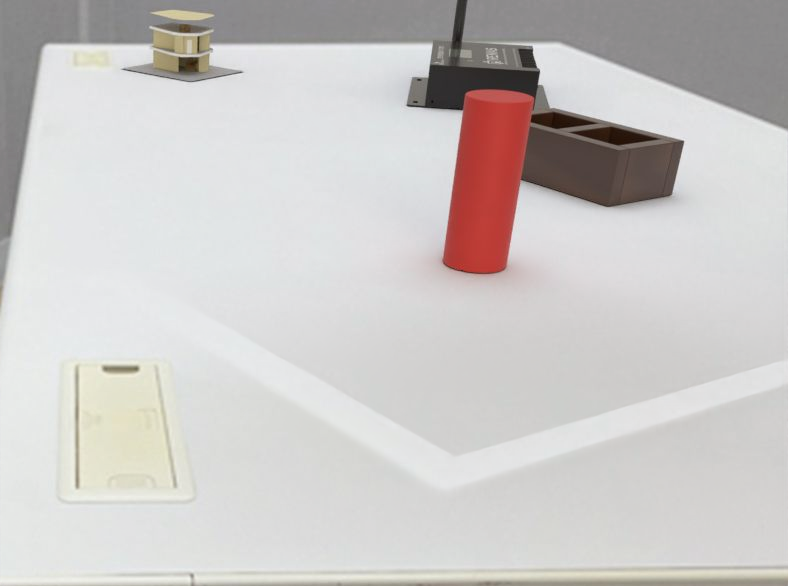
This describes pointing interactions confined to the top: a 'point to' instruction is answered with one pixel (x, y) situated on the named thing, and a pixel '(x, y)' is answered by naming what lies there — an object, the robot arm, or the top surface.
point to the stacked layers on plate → (182, 49)
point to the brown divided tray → (599, 158)
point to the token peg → (487, 179)
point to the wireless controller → (475, 70)
